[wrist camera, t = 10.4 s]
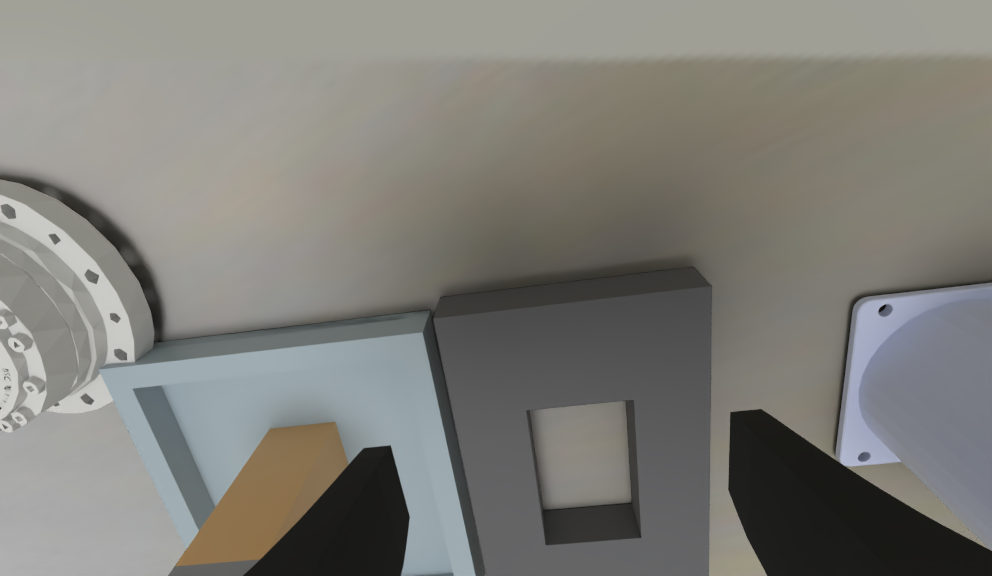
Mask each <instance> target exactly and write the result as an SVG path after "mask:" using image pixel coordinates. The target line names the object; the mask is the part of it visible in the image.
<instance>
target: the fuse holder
mask: <svg viewBox="0 0 992 576" xmlns="http://www.w3.org/2000/svg"><path fill="white" fill-rule="evenodd" d="M711 310H712V286H711V285H710V284H709V283H708V282H707V280H706V279H705V278H704V277H703V276H702V275H701V274H700V273H699V272H698V271H697V270H696V269H695V268H694V267H688V268H680V269H671V270H663V271H655V272H646V273H638V274H630V275H622V276H613V277H605V278H597V279H588V280H580V281H572V282H563V283H555V284H547V285H539V286H530V287H522V288H514V289H505V290H497V291H489V292H480V293H472V294H464V295H456V296H447V297H440V300H439V303H438V306H437V309H436V312H435V315H434V318H433V320H434V325H435V330H436V335H437V340H438V344H439V349H440V354H441V359H442V364H443V368H444V373H445V378H446V383H447V388H448V393H449V397H450V402H451V407H452V412H453V417H454V422H455V426H456V431H457V436H458V441H459V446H460V450H461V455H462V460H463V465H464V470H465V475H466V479H467V484H468V489H469V494H470V499H471V504H472V508H473V513H474V518H475V523H476V528H477V533H478V537H479V542H480V547H481V552H482V557H483V561H484V566H485V571H486V576H709V507H710V408H711ZM616 401H626V413H627V430H628V446H629V463H630V479H631V496H632V503H631V504H619V505H607V506H595V507H584V508H572V509H560V510H548V511H543V505H542V498H541V491H540V484H539V477H538V470H537V463H536V456H535V449H534V442H533V435H532V427H531V420H530V413H529V410H537V409H546V408H556V407H566V406H576V405H586V404H596V403H606V402H616Z"/></svg>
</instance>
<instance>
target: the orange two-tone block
mask: <svg viewBox="0 0 992 576" xmlns="http://www.w3.org/2000/svg"><path fill="white" fill-rule="evenodd" d="M348 465H349V464H348V461H347V458H346V454H345V451H344V448H343V445H342V441H341V438H340V435H339V432H338V429H337V425H336V422H329V423H319V424H309V425H300V426H290V427H280V428H271V429H269V430H268V432H267V433H266V435H265V436H264V438H263V439H262V441H261V442H260V443H259V445H258V446H257V448H256V449H255V451H254V452H253V454H252V455H251V456H250V458H249V459H248V461H247V462H246V464H245V465H244V467H243V468H242V470H241V471H240V472H239V474H238V475H237V477H236V478H235V480H234V481H233V483H232V484H231V486H230V487H229V488H228V490H227V491H226V493H225V494H224V496H223V497H222V499H221V500H220V501H219V503H218V504H217V506H216V507H215V509H214V510H213V512H212V513H211V515H210V516H209V517H208V519H207V520H206V522H205V523H204V525H203V526H202V528H201V529H200V530H199V532H198V533H197V535H196V536H195V538H194V539H193V541H192V542H191V544H190V545H189V546H188V548H187V549H186V551H185V552H184V554H183V555H182V557H181V558H180V559H179V561H178V562H177V564H176V565H175V567H174V568H173V570H172V571H171V573H170V574H169V575H168V576H243V575H244V574H245V573H246V572H247V571H248V570H250V569H251V568H252V567H253V566H254V565H255V564H256V563H257V562H258V561H259V560H260V559H261V558H262V557H263V556H264V555H265V554H266V553H267V552H268V551H269V550H270V549H271V548H272V547H273V546H274V545H275V544H276V543H277V542H278V541H279V540H280V539H281V538H282V537H283V536H284V535H285V534H286V533H287V532H288V531H289V530H290V529H291V528H292V527H293V526H294V525H295V524H296V523H297V522H298V521H299V520H300V519H301V517H302V516H303V515H304V514H305V513H306V512H307V511H308V510H309V509H310V508H311V506H312V505H313V504H314V503H315V502H316V501H317V500H318V499H319V498H320V497H321V495H322V494H323V493H324V492H325V491H326V490H327V489H328V488H329V486H330V485H331V484H332V483H333V482H334V481H335V480H336V479H337V477H338V476H339V475H340V474H341V473H342V472H343V470H344V469H345V468H346V467H347V466H348Z"/></svg>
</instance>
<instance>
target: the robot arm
mask: <svg viewBox="0 0 992 576" xmlns="http://www.w3.org/2000/svg"><path fill="white" fill-rule="evenodd" d="M883 305H886V307H885V309H884V310H883V311H881V312H878V311H879V308H880V307H881V306H883ZM863 452H864V453H863ZM861 453H863V454H862V455H860V454H861ZM836 458H837V459H838V460H839V461H840V462H841V463H839V462H838V461H836V460H835V459H833V458H832V457H830V456H829V455H827V454H826V453H824V452H823V451H821V450H820V449H818V448H817V447H815V446H814V445H813V444H811V443H810V442H808V441H807V440H805V439H804V438H802V437H801V436H800V435H798V434H797V433H795V432H794V431H792V430H791V429H790V428H788V427H787V426H785V425H784V424H782V423H781V422H779V421H778V420H777V419H775V418H774V417H772V416H771V415H769V414H768V413H766V412H765V411H763V410H762V409H758V410H748V411H738V412H731V415H730V452H729V488H728V490H729V492H730V495H731V498H732V500H733V503H734V506H735V508H736V511H737V513H738V516H739V518H740V521H741V523H742V526H743V528H744V531H745V533H746V536H747V538H748V540H749V542H750V544H751V546H752V547H753V549H754V551H755V553H756V555H757V557H758V559H759V561H760V562H761V564H762V566H763V568H764V570H765V572H766V574H767V576H992V283H984V284H975V285H967V286H958V287H949V288H940V289H931V290H922V291H913V292H905V293H896V294H887V295H878V296H869V297H865V298H862V299H860V300H859V301H857V303H856V304H855V305H854V308H853V312H852V321H851V329H850V337H849V346H848V354H847V362H846V371H845V379H844V387H843V396H842V404H841V412H840V421H839V429H838V437H837V446H836ZM895 462H903V463H904V464H905V465H906V466H907V467H908V468H909V469H910V470H911V471H912V472H913V473H914V474H915V475H916V476H917V477H918V478H919V479H920V480H921V481H922V482H923V483H924V484H925V485H926V486H927V487H928V488H929V489H930V490H931V491H932V492H933V493H934V494H935V495H936V496H937V497H938V498H939V499H940V500H941V501H942V503H943V504H944V505H945V506H946V507H947V508H948V509H949V510H950V511H951V512H952V513H953V514H954V515H955V516H956V517H957V518H958V519H959V520H960V521H961V522H962V523H963V524H964V525H965V526H966V527H967V528H968V529H969V530H970V531H971V532H972V533H973V534H974V535H975V536H976V537H977V538H978V539H979V540H980V541H981V542H982V543H983V544H984V545H985V546H986V547H987V548H988V549H987V548H985V547H983V546H981V545H979V544H977V543H975V542H974V541H972V540H970V539H968V538H966V537H964V536H962V535H960V534H958V533H956V532H955V531H953V530H951V529H949V528H947V527H945V526H943V525H941V524H939V523H938V522H936V521H934V520H932V519H930V518H929V517H927V516H925V515H923V514H921V513H920V512H918V511H916V510H915V509H913V508H911V507H910V506H908V505H906V504H905V503H903V502H901V501H900V500H898V499H896V498H894V497H893V496H891V495H889V494H888V493H886V492H884V491H883V490H881V489H879V488H878V487H876V486H875V485H873V484H872V483H870V482H868V481H867V480H865V479H864V478H862V477H860V476H859V475H857V474H856V473H854V472H853V471H851V470H850V469H848V468H847V467H845V466H860V465H872V464H883V463H895ZM409 520H410V516H409V512H408V508H407V504H406V501H405V497H404V493H403V489H402V486H401V482H400V478H399V474H398V471H397V467H396V463H395V459H394V456H393V452H392V448H391V445H389V446H379V447H368V448H363V449H362V450H361V451H360V453H359V454H358V455H357V456H356V457H355V458H354V459H353V460H352V461H351V463H350V464H349V465H348V466H347V467H346V468H345V469H344V470H343V472H342V473H341V474H340V475H339V476H338V477H337V479H336V480H335V481H334V482H333V483H332V484H331V485H330V486H329V488H328V489H327V490H326V491H325V492H324V493H323V494H322V495H321V497H320V498H319V499H318V500H317V501H316V502H315V503H314V504H313V505H312V506H311V508H310V509H309V510H308V511H307V512H306V513H305V514H304V515H303V516H302V517H301V519H300V520H299V521H298V522H297V523H296V524H295V525H294V526H293V527H292V528H291V529H290V530H289V531H288V532H287V533H286V534H285V535H284V536H283V537H282V538H281V539H280V540H279V541H278V542H277V543H276V544H275V545H274V546H273V547H272V548H271V549H270V550H269V551H268V552H267V553H266V554H265V555H264V556H263V557H262V558H261V559H260V560H259V561H258V562H257V563H256V564H255V565H254V566H253V567H252V568H251V569H250V570H248V571H247V572H246V573H245V574H244V575H243V576H401V573H402V569H403V565H404V559H405V552H406V545H407V537H408V528H409Z"/></svg>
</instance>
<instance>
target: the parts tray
mask: <svg viewBox="0 0 992 576" xmlns="http://www.w3.org/2000/svg"><path fill="white" fill-rule="evenodd" d="M99 372H100V374H101V376H102V378H103V380H104V382H105V384H106V386H107V388H108V390H109V393H110V395H111V397H112V399H113V401H114V403H115V405H116V407H117V409H118V411H119V413H120V415H121V417H122V419H123V421H124V423H125V425H126V427H127V429H128V431H129V433H130V436H131V438H132V440H133V442H134V444H135V446H136V448H137V450H138V452H139V454H140V456H141V458H142V460H143V462H144V464H145V466H146V468H147V470H148V472H149V474H150V476H151V479H152V481H153V483H154V485H155V487H156V489H157V491H158V493H159V495H160V497H161V499H162V501H163V503H164V505H165V507H166V509H167V511H168V513H169V515H170V517H171V519H172V522H173V524H174V526H175V528H176V530H177V532H178V534H179V536H180V538H181V540H182V542H183V544H184V546H185V548H186V549H187V548H188V546H189V545H190V544H191V542H192V541H193V539H194V538H195V536H196V535H197V533H198V532H199V530H200V529H201V528H202V526H203V525H204V523H205V522H206V520H207V519H208V517H209V516H210V515H211V513H212V512H213V510H214V509H215V507H216V506H217V504H218V503H219V501H220V500H221V499H222V497H223V496H224V494H225V493H226V491H227V490H228V488H229V487H230V486H231V484H232V483H233V481H234V480H235V478H236V477H237V475H238V474H239V472H240V471H241V470H242V468H243V467H244V465H245V464H246V462H247V461H248V459H249V458H250V456H251V455H252V454H253V452H254V451H255V449H256V448H257V446H258V445H259V443H260V442H261V441H262V439H263V438H264V436H265V435H266V433H267V432H268V430H269V429H271V428H280V427H290V426H300V425H309V424H319V423H329V422H336V425H337V429H338V432H339V435H340V438H341V441H342V445H343V448H344V451H345V454H346V458H347V461H348V464H350V463H351V461H352V460H353V459H354V458H355V457H356V456H357V455H358V454H359V453H360V451H361V450H362V449H363V448H368V447H379V446H389V445H391V448H392V452H393V456H394V459H395V463H396V467H397V471H398V474H399V478H400V482H401V486H402V489H403V493H404V497H405V501H406V504H407V508H408V512H409V516H410V520H409V528H408V537H407V545H406V552H405V559H404V565H403V569H402V573H401V576H485V570H484V565H483V560H482V555H481V551H480V546H479V541H478V536H477V531H476V527H475V522H474V517H473V512H472V507H471V503H470V498H469V493H468V488H467V483H466V479H465V474H464V469H463V464H462V459H461V455H460V450H459V445H458V440H457V435H456V430H455V426H454V421H453V416H452V411H451V406H450V402H449V397H448V392H447V387H446V382H445V378H444V373H443V368H442V363H441V358H440V354H439V349H438V344H437V339H436V334H435V329H434V325H433V320H432V315H431V310H426V311H418V312H409V313H401V314H393V315H384V316H376V317H367V318H359V319H350V320H342V321H333V322H325V323H317V324H308V325H300V326H291V327H283V328H274V329H266V330H258V331H249V332H241V333H232V334H224V335H215V336H207V337H199V338H190V339H182V340H173V341H165V342H156V343H153V349H152V350H150V351H149V352H148V353H146V354H145V355H144V356H142V357H141V358H139V359H138V360H137V361H135V362H129V363H114V364H106V365H104V366H103V367H101V368H100V369H99Z"/></svg>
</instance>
